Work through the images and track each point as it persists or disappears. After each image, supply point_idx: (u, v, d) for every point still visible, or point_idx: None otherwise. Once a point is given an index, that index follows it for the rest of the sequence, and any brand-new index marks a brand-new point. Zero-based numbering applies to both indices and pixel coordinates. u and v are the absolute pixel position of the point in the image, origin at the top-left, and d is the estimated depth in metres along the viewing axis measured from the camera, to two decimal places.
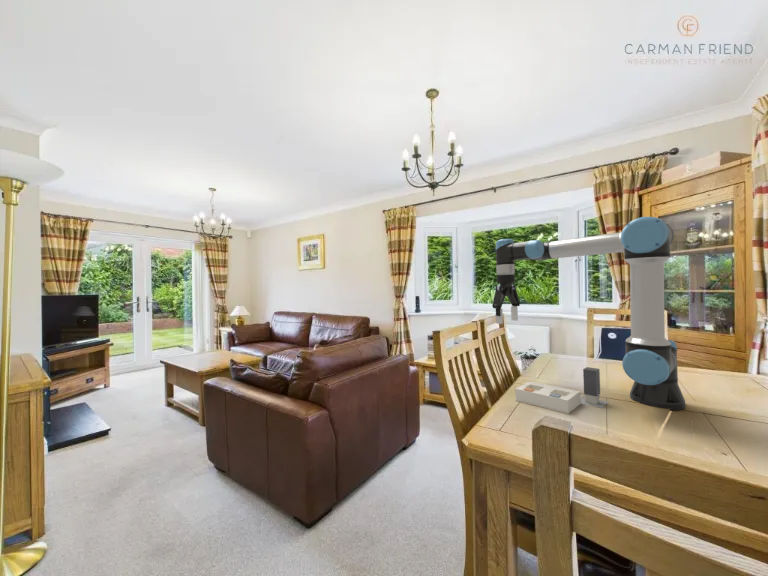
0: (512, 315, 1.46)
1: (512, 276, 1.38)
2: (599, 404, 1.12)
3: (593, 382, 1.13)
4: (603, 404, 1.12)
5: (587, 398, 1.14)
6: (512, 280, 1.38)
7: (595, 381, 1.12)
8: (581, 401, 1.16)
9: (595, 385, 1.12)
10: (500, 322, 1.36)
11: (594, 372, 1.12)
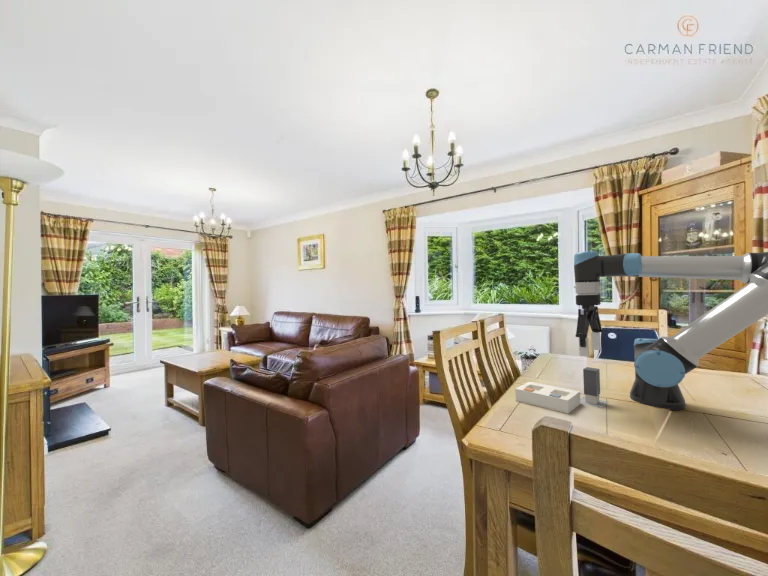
0: (593, 343, 1.20)
1: (598, 297, 1.11)
2: (599, 404, 1.12)
3: (593, 382, 1.13)
4: (603, 404, 1.12)
5: (587, 398, 1.14)
6: (598, 302, 1.11)
7: (595, 381, 1.12)
8: (581, 401, 1.16)
9: (595, 385, 1.12)
10: (586, 354, 1.09)
11: (594, 372, 1.12)
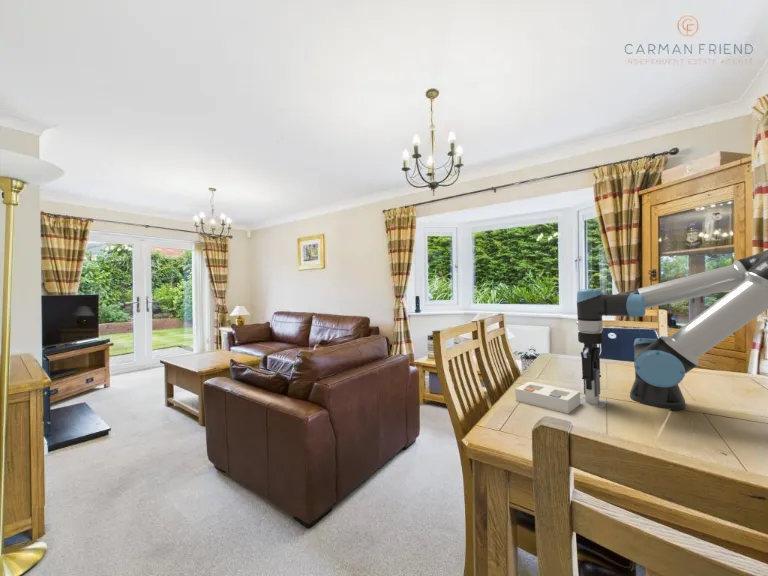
0: None
1: (601, 336, 1.11)
2: (599, 404, 1.12)
3: None
4: (603, 404, 1.12)
5: (587, 398, 1.14)
6: (601, 341, 1.11)
7: (595, 381, 1.12)
8: (581, 401, 1.16)
9: (595, 385, 1.12)
10: (591, 397, 1.12)
11: (594, 372, 1.12)
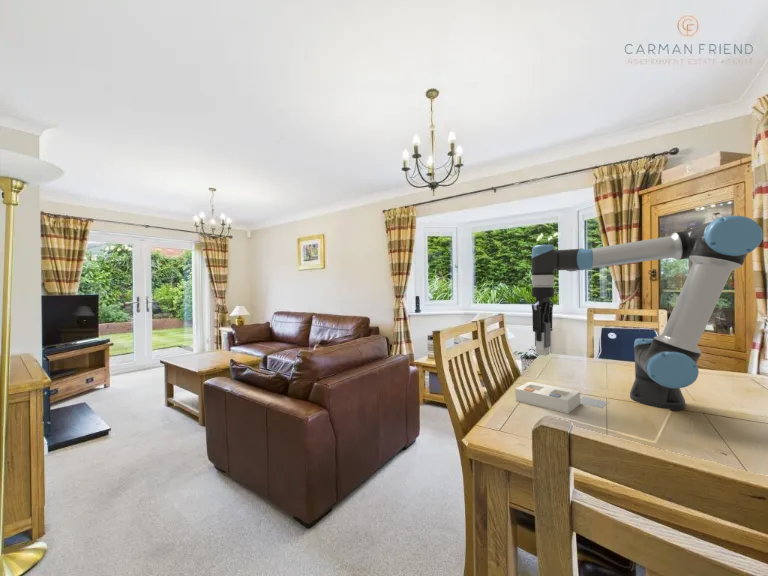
0: None
1: (551, 289, 1.15)
2: (599, 404, 1.12)
3: None
4: (603, 404, 1.12)
5: (537, 350, 1.19)
6: (551, 294, 1.15)
7: (545, 333, 1.16)
8: (581, 401, 1.16)
9: (545, 337, 1.16)
10: (541, 348, 1.17)
11: (544, 324, 1.16)
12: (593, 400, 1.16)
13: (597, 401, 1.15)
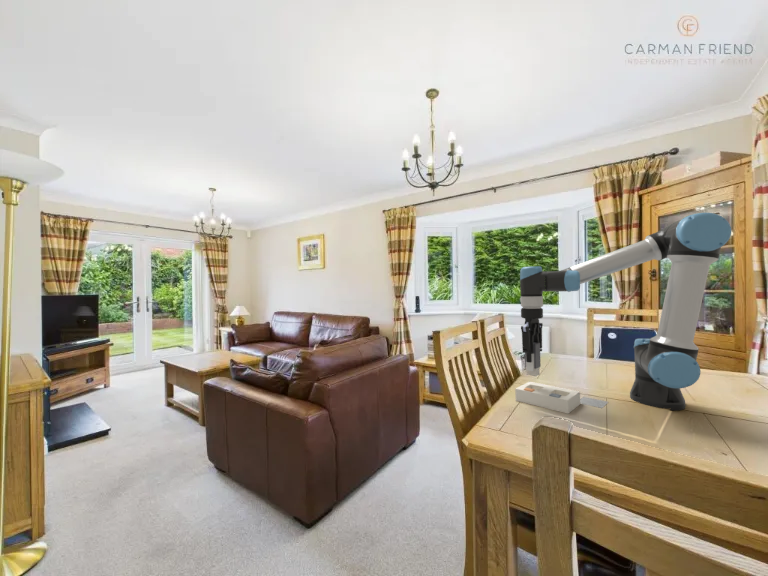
0: None
1: (540, 311, 1.16)
2: (599, 404, 1.12)
3: None
4: (603, 404, 1.12)
5: None
6: (540, 315, 1.16)
7: (534, 354, 1.17)
8: (581, 401, 1.16)
9: (534, 358, 1.17)
10: (531, 369, 1.18)
11: (534, 345, 1.17)
12: (593, 400, 1.16)
13: (597, 401, 1.15)
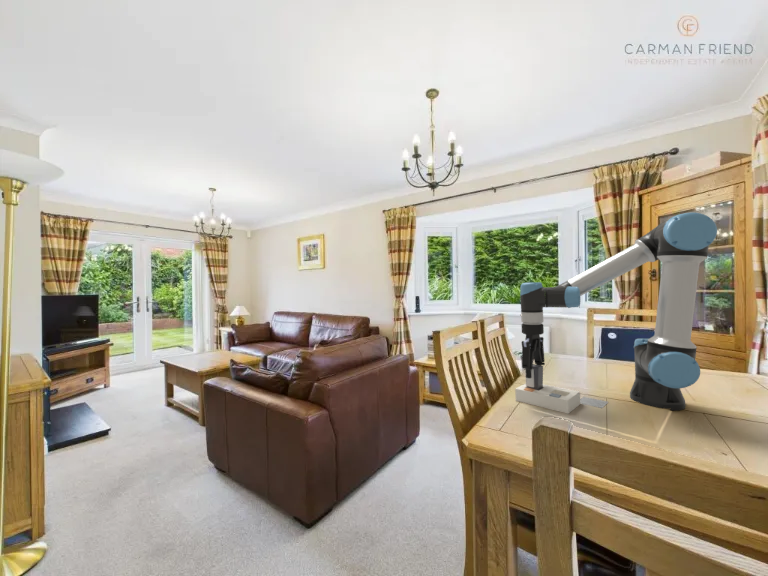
0: None
1: (541, 327, 1.16)
2: (599, 404, 1.12)
3: (535, 378, 1.18)
4: (603, 404, 1.12)
5: None
6: (541, 331, 1.16)
7: (537, 377, 1.17)
8: (581, 401, 1.16)
9: (537, 381, 1.17)
10: (531, 385, 1.17)
11: (537, 368, 1.18)
12: (593, 400, 1.16)
13: (597, 401, 1.15)
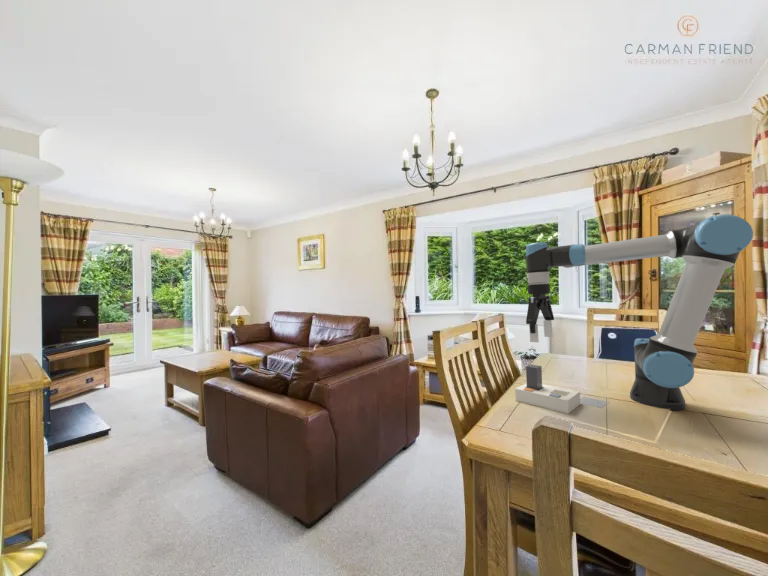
0: (545, 330, 1.26)
1: (547, 286, 1.18)
2: (599, 404, 1.12)
3: (534, 379, 1.18)
4: (603, 404, 1.12)
5: None
6: (547, 290, 1.18)
7: (536, 378, 1.17)
8: (581, 401, 1.16)
9: (536, 381, 1.17)
10: (535, 340, 1.16)
11: (535, 369, 1.17)
12: (593, 400, 1.16)
13: (597, 401, 1.15)
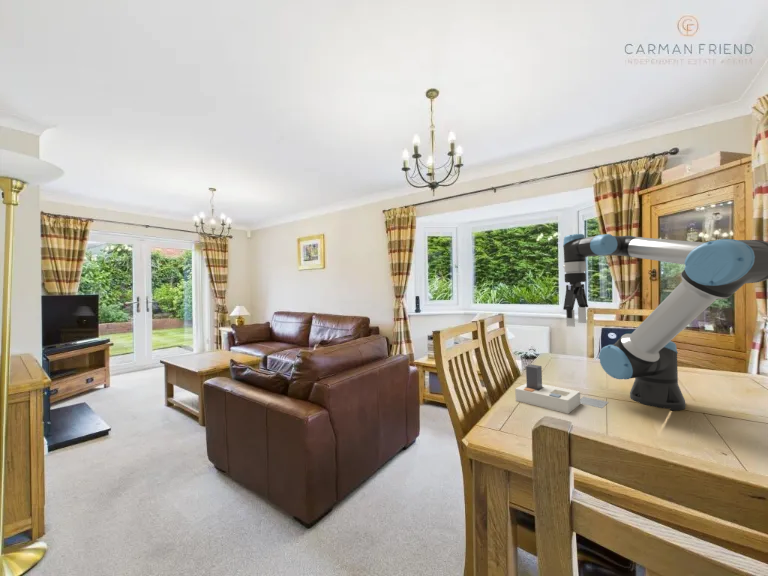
0: (579, 317, 1.35)
1: (584, 274, 1.26)
2: (599, 404, 1.12)
3: (534, 379, 1.18)
4: (603, 404, 1.12)
5: None
6: (584, 279, 1.26)
7: (536, 378, 1.17)
8: (581, 401, 1.16)
9: (536, 381, 1.17)
10: (572, 325, 1.25)
11: (535, 369, 1.17)
12: (593, 400, 1.16)
13: (597, 401, 1.15)
